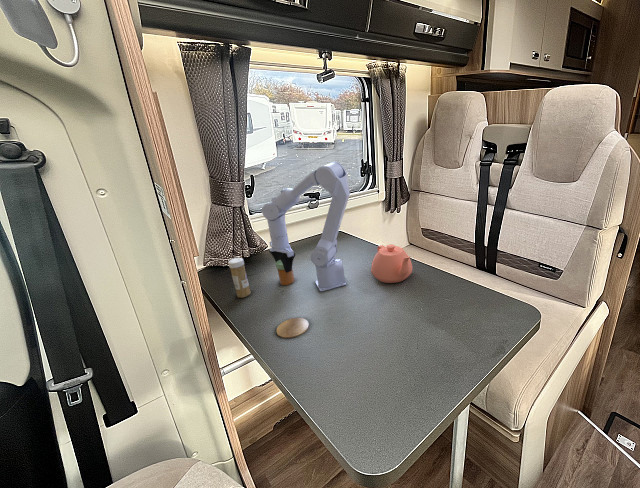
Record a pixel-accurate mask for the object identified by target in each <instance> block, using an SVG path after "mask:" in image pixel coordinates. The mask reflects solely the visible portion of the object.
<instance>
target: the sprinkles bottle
mask: <svg viewBox="0 0 640 488" xmlns="http://www.w3.org/2000/svg"><path fill="white" fill-rule="evenodd" d="M227 263H228V267H229V269H230V273H231V278H232V281H233V286H234V289H235V291H236V297H237V298H242V299H243V298H246V297H248V296H250V295H251V294H252V291H251V288H250V284H249V279H248V275H247V272H246V268H245V261H244V258H241V257H233V258H231V259H230V260H228V262H227Z"/></svg>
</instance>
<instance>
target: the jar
mask: <svg viewBox="0 0 640 488" xmlns="http://www.w3.org/2000/svg"><path fill="white" fill-rule="evenodd" d="M276 270H277V274H278V279H279V285H282V286H289V285H291V284H293V283H294V282H295V281H296V279H295V275H294V269H293V267H292V271H290V272H287V273H286V272H285V270H279V269H277V268H276Z"/></svg>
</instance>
